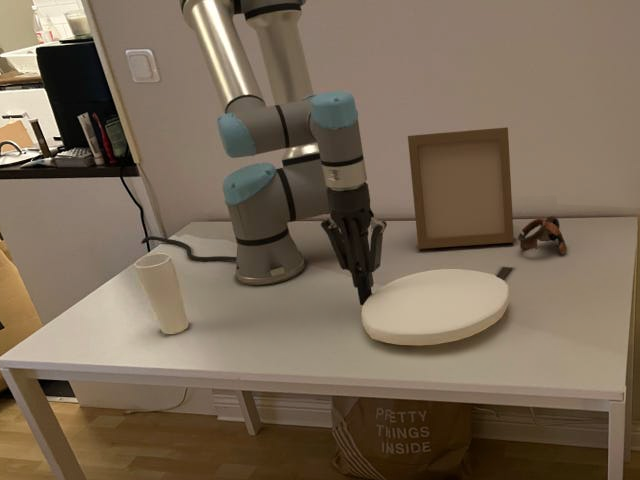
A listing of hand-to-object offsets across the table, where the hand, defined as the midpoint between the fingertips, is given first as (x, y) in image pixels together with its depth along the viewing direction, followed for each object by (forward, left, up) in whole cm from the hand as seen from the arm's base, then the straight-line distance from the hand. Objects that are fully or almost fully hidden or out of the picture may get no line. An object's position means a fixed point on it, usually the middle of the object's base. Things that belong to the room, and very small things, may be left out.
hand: (366, 302), depth 140 cm
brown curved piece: (+26, +35, -2) cm, 44 cm away
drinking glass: (-36, -15, -2) cm, 39 cm away
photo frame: (+6, +39, -2) cm, 40 cm away
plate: (+15, 0, -2) cm, 15 cm away
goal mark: (+21, +20, -2) cm, 29 cm away
